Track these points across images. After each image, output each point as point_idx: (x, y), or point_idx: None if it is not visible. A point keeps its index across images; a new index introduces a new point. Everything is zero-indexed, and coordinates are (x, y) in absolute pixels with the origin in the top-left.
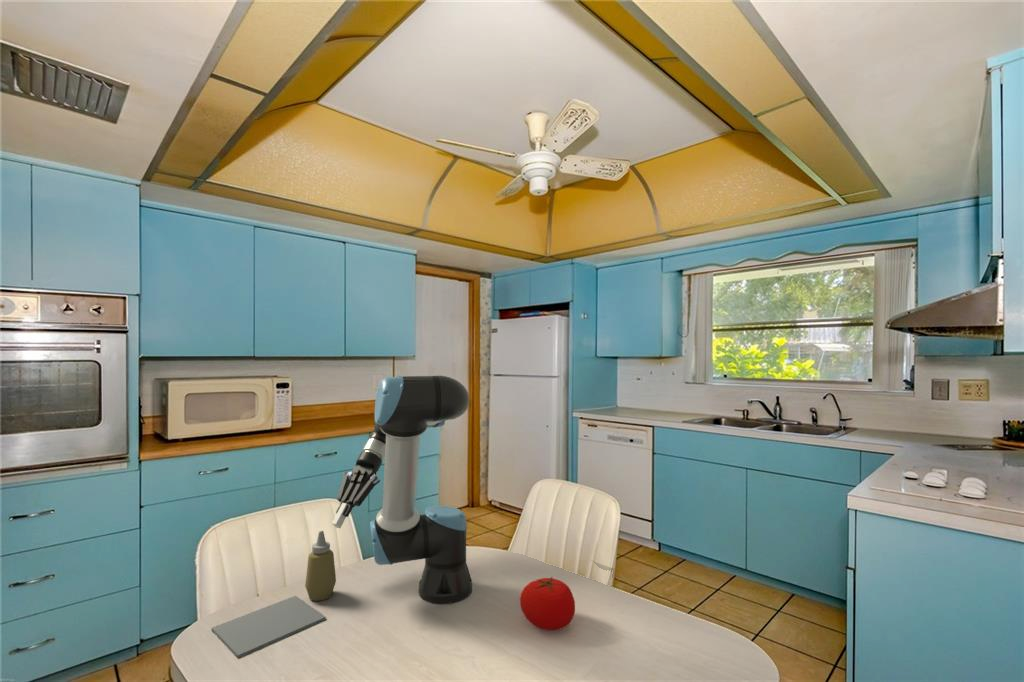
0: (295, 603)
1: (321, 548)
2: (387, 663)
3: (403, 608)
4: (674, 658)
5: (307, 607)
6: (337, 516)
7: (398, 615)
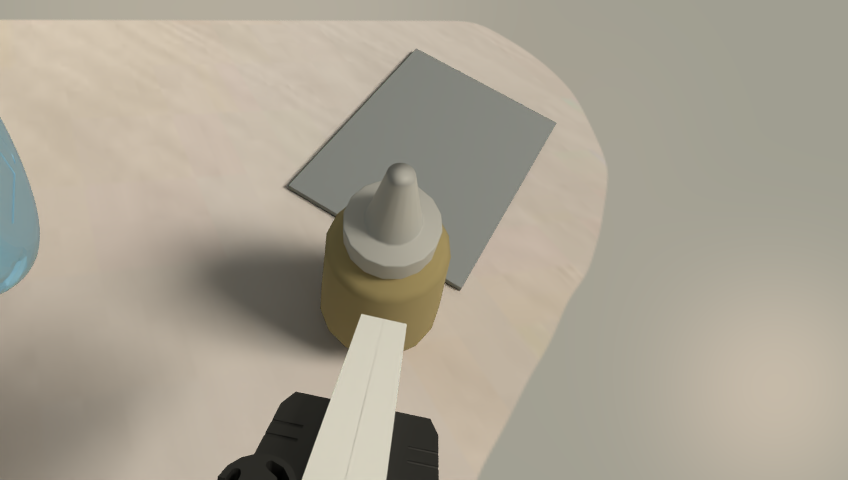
0: None
1: (367, 187)
2: (47, 44)
3: None
4: None
5: None
6: (376, 358)
7: None
